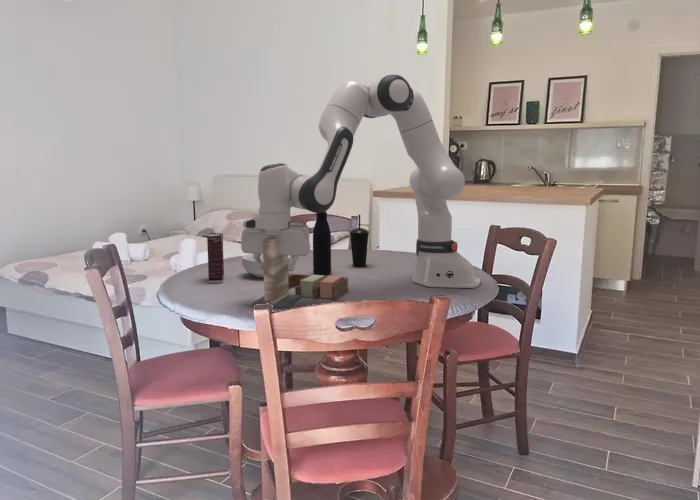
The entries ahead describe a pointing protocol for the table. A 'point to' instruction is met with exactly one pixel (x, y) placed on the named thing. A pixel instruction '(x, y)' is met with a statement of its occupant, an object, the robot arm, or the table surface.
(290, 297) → the slate mat
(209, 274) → the supplement box
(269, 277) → the beige mottled block
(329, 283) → the terracotta offcut
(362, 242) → the drinking cup
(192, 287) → the table surface
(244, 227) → the robot arm
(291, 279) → the offcut rack
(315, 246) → the wine bottle
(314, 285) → the sage offcut
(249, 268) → the cereal bowl
